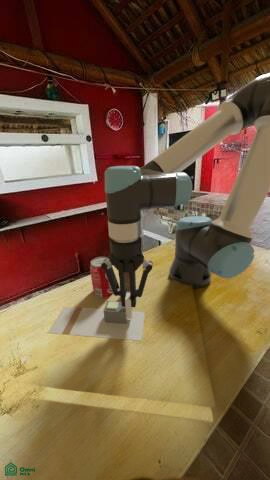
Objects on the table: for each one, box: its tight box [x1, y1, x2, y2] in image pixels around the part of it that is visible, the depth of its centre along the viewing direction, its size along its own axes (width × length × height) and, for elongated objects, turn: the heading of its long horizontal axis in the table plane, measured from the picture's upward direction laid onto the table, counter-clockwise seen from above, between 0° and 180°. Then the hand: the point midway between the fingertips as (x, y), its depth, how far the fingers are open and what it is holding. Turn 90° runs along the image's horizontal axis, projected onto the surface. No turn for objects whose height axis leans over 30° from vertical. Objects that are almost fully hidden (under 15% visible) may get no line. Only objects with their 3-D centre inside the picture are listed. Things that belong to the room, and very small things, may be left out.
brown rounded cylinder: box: [126, 272, 130, 293], centre depth 69 cm, size 3×3×10 cm
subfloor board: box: [47, 306, 146, 342], centre depth 59 cm, size 25×10×2 cm, turn 82°
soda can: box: [89, 256, 114, 299], centre depth 69 cm, size 7×7×13 cm
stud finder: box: [103, 300, 127, 324], centre depth 59 cm, size 6×4×4 cm, turn 83°
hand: (129, 314), depth 58 cm, fingers closed
